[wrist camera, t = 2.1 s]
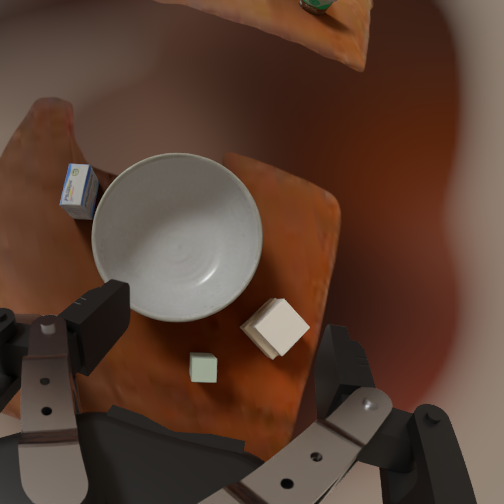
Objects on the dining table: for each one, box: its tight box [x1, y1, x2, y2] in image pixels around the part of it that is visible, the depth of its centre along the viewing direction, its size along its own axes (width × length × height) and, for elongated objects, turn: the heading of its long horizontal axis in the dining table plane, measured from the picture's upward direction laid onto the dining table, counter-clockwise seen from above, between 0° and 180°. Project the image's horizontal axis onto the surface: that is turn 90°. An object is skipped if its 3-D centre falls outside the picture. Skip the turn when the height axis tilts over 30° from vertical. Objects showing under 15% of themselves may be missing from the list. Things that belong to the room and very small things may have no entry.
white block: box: [249, 299, 310, 356], centre depth 55 cm, size 7×7×4 cm
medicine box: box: [60, 164, 99, 220], centre depth 52 cm, size 8×4×9 cm, turn 178°
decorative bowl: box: [92, 153, 263, 322], centre depth 53 cm, size 27×27×12 cm
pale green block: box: [189, 352, 217, 382], centre depth 52 cm, size 4×4×8 cm
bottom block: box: [240, 298, 278, 359], centre depth 59 cm, size 8×8×4 cm
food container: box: [299, 0, 337, 15], centre depth 77 cm, size 12×6×10 cm, turn 77°
